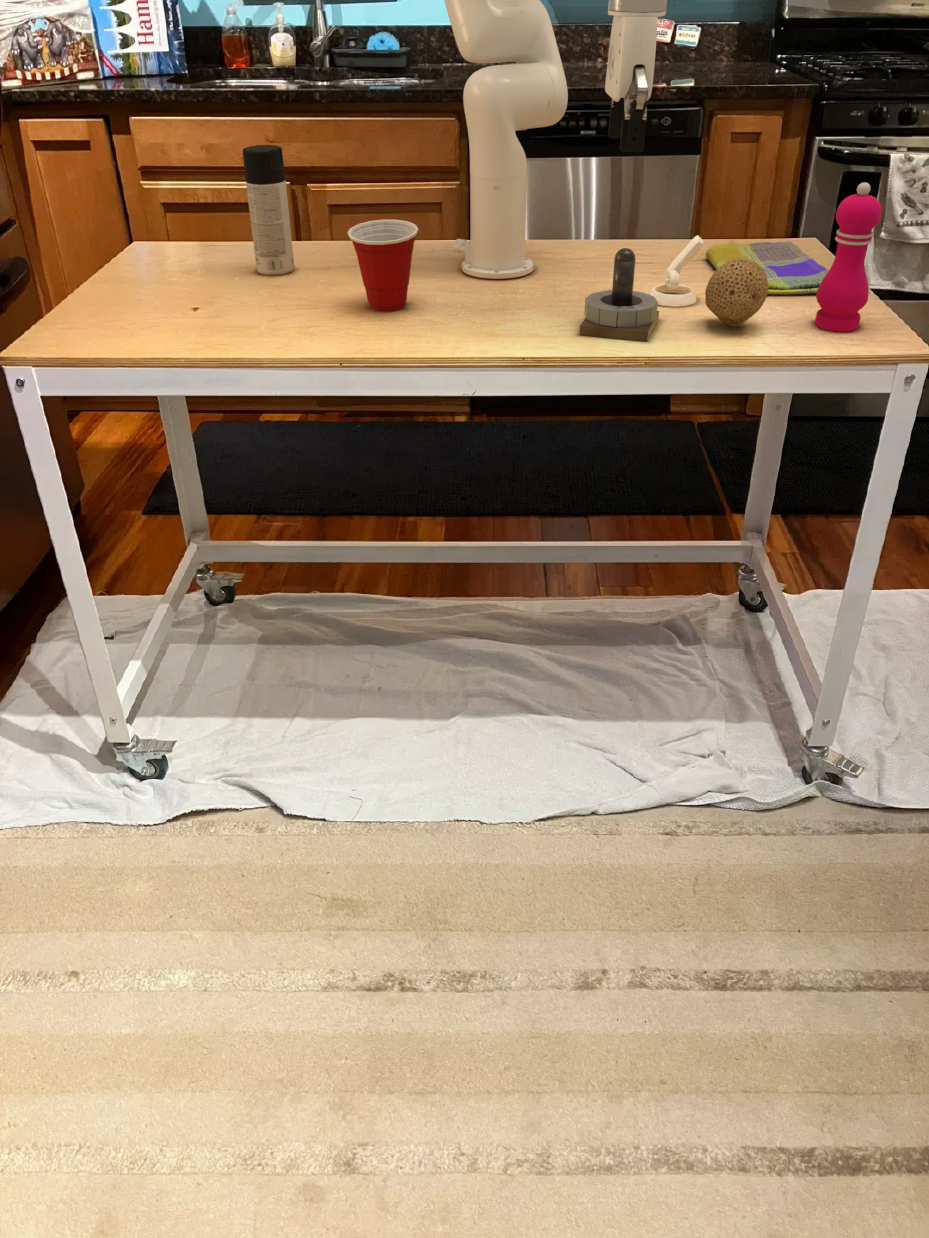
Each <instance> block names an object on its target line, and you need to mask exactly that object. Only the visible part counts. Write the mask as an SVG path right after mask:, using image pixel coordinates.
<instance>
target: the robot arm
mask: <svg viewBox="0 0 929 1238" xmlns="http://www.w3.org/2000/svg"><path fill="white" fill-rule="evenodd" d="M444 4H445V9H446V11H447V12H446V13H447V15H448V19H449V22H450V26H451V29H452V33H453V37H454V40H455V43H456V47H457V49H458V52H459V53H460V56H461V57H462V58H463V59H464V60H465V61H467V62H469V63H472V64H496V63H497V64H498V63H507V64H498V65H489V66H485V67H483V68H480V69H478V70H476V71H474V72H472V74H471V75H470V76H469V78H467V80H466V83H465V84H464V88H463V95H462V101H463V111H464V115H465V121H466V127H467V135H468V146H469V192H470V193H469V198H470V199H469V201H470V203H469V204H470V205H469V207H470V210H469V211H470V213H469V216H470V217H469V218H470V219H469V221H470V226H469V227H470V228H469V229H470V230H469V231H470V233H469V234H470V235H469V236H470V240H467V239H463V238H456V240H455V242H454V245H453V250H452V251H453V253H456V254H464V260H463V261H462V262H461V270H462V272H464V274H466V275H469V276H470V277H475V278H480V279H489V280H490V279H491V280H505V279H506V280H507V279H515V278H520V277H524V276H527V275H529V274H530V273H532V272H533V271H534V267H535V266H534V264H535V263H534V261H533V260H532V259H531V258H528V257H526V232H527V231H526V229H527V227H526V225H527V189H528V160H527V156H526V153H525V150H524V148H523V146H522V144H521V142H520V141H519V138H518V137H517V134H516V132H517V131H523V130H528V129H538V128H546V127H550V126H553V125H555V124H557V123H558V122H559V121H561V119H563V117H564V116H565V113H566V111H567V108H568V100H569V92H568V84H567V78H566V74H565V70H564V66H563V61H562V59H561V55H560V50H559V47H558V43H557V39H556V36H555V32H554V28H553V24H552V21H551V18H550V14H549V12H548V10H547V8H546V7H545V5H544V4H543V3H542V1H541V0H444ZM667 4H668V0H608V6H607V15H608V16H613V19H612V23H611V28H610V29H611V31H610V38H609V46H608V55H607V67H606V75H605V84H604V91H605V93H606V94H607V95H608V96H609V97H610V98H611V101H610V103H611V104H610V105H611V106H610V107H609V121H608V133H607V136H608V138H609V139H610V140H620V143H619V151H620V152H621V153H642V152H643V153H644V151H645V141H646V130H647V122H648V121H647V120H648V119H647V116H648V108H647V107H648V102H647V101H649V100H650V98H651V96H652V91H653V84H654V76H655V75H654V74H655V64H656V63H655V62H656V54H657V53H656V51H657V36H658V19H659V18H660V17H665V16H666V14H667V6H668V5H667ZM512 62H514V63H512ZM508 63H509V64H508Z"/></svg>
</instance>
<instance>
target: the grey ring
mask: <svg viewBox="0 0 929 1238" xmlns="http://www.w3.org/2000/svg"><path fill="white" fill-rule="evenodd" d="M649 294H650V293H649ZM649 294H648V293H646V292H643V291H637V290H633V295H632V306H612V305H611V300H612V289H607V290H601V291H595V292H592V293H590V294H589V295H587V296H586V297H585V298H584V314H583V315H584V317H585V318H586V319H587V320H589V321H591V322H594V323H596V324H599V325H604V326H611V327H638V326H642V325H646V324H650V323H651V322H652V321H654V320H655V319H656V315H657V311H658V306H659V305H658V302H657V300H656V299H655V297H654V296H651V295H649Z"/></svg>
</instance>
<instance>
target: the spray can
mask: <svg viewBox="0 0 929 1238" xmlns="http://www.w3.org/2000/svg"><path fill="white" fill-rule="evenodd" d="M283 155H284V153H283V148H282V146H280V145H275V144H274V145H273V144H256V145H251V146H247V147H244V148H242V159H243V168H244V177H245V178H244V179H245V185H246V194H247V195H246V196H247V202H248V211H249V219H250V227H251V234H252V235H251V236H252V243H253V251H254V260H255V267H256V271H257V273H258V274H260V275H263V276H265V275H266V276H283V275H288V274H289V273H292V272H293V271H294V270H295V259H294V250H293V240H292V231H291V230H292V229H291V228H292V227H291V219H290V209H289V200H288V191H287V180H286V172H285V163H284V157H283Z"/></svg>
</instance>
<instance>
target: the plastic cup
mask: <svg viewBox="0 0 929 1238" xmlns="http://www.w3.org/2000/svg"><path fill="white" fill-rule="evenodd" d="M418 232H419V228H418V226H417V224H416V223H413V222H410V221H407V220H402V219H401V220H400V219H376V220H368V221H365V222H361V223H358V224H355V225H354V226H352V227H350V228H349V229H348V231H347V235H348V237H349V240H351V242H352V246H353V247H354V251H355V253H356V257H357V261H358V266H359V271H360V274H361V279H362V283H363V286H364V288H365V294H366V298H367V299H366V300H367V303H368V305H369V308H370V309H372V310H374V311H379V312H392V311H393V312H394V311H399V310H402V309H404V307H406V303H407V298H408V291H409V290H408V289H409V285H410V277H411V269H412V259H413V251H414V246H415V241H416V236H417V234H418Z"/></svg>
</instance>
